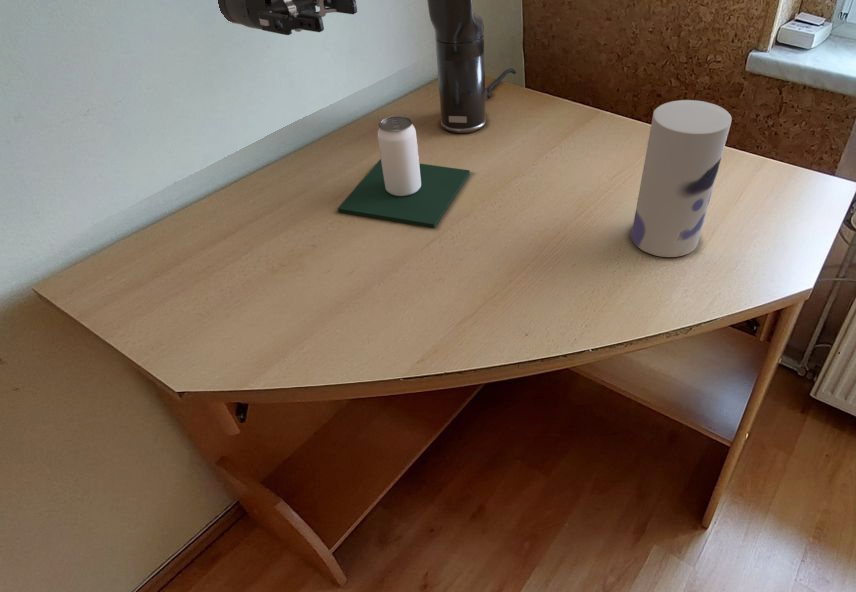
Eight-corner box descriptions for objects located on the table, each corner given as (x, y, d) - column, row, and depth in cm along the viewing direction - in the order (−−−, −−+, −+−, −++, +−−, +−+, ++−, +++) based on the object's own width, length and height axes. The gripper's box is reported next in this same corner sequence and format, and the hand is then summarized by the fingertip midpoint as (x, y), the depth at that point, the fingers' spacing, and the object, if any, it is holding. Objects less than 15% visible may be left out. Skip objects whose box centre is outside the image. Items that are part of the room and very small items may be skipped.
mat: (381, 162, 119) (381, 158, 118) (469, 174, 114) (469, 170, 113) (338, 212, 107) (337, 208, 107) (434, 228, 102) (434, 224, 102)
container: (686, 265, 92) (720, 138, 77) (621, 247, 96) (642, 123, 81) (705, 230, 97) (740, 106, 83) (643, 214, 101) (667, 93, 87)
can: (385, 199, 108) (376, 134, 99) (385, 180, 112) (375, 116, 104) (422, 195, 108) (415, 130, 99) (420, 176, 113) (413, 112, 104)
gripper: (294, 15, 108) (369, 26, 102) (237, 42, 100) (314, 57, 93) (283, -34, 103) (362, -26, 96) (222, -9, 94) (303, 2, 88)
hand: (338, 15), depth 95 cm, fingers open, 8 cm apart
